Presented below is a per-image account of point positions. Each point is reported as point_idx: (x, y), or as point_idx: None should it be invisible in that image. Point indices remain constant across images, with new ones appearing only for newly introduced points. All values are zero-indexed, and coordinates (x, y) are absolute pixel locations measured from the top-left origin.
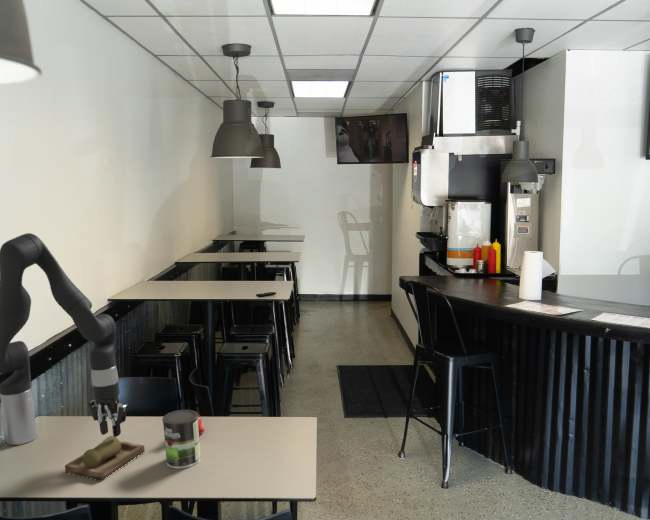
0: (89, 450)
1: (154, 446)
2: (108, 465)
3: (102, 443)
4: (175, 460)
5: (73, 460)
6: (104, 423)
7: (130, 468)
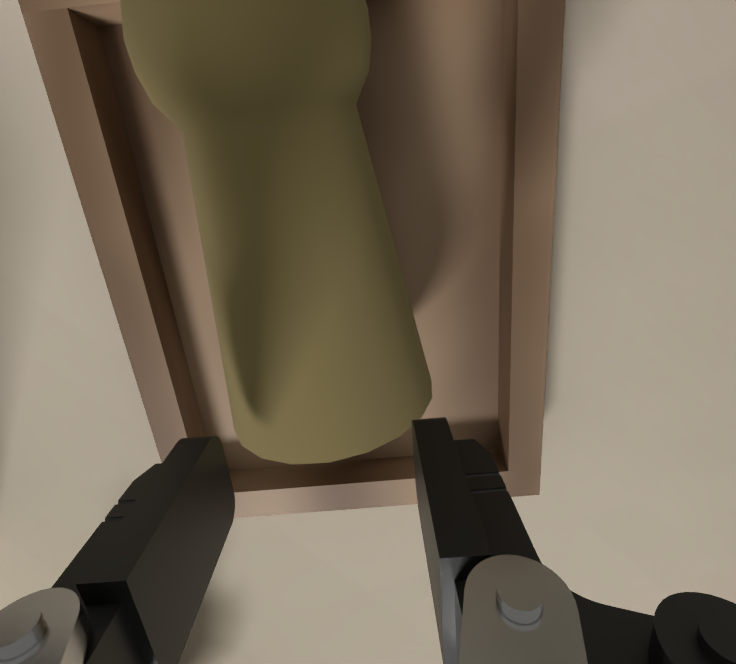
0: None
1: (223, 556)
2: None
3: (287, 281)
4: None
5: (559, 42)
6: (439, 593)
7: (77, 282)
